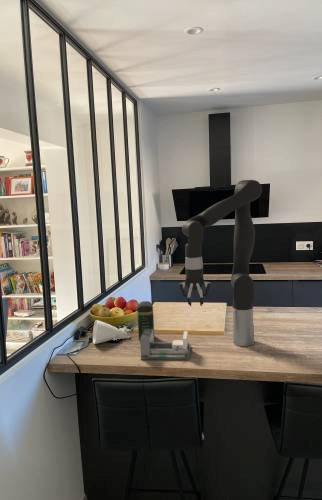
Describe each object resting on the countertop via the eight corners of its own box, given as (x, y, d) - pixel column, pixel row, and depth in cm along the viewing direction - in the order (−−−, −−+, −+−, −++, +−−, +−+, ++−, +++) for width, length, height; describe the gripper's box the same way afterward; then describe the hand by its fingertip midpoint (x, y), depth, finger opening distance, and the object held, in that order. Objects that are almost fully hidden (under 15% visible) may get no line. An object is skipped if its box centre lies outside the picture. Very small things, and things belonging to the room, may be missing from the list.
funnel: (132, 317, 190) (97, 315, 185) (133, 338, 182) (97, 336, 177) (126, 329, 198) (92, 327, 192) (128, 349, 190) (92, 348, 185)
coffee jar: (154, 342, 182) (152, 305, 179) (138, 342, 182) (135, 306, 179) (154, 334, 192) (152, 299, 189) (139, 335, 192) (137, 300, 189)
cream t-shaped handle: (188, 346, 171) (187, 331, 170) (186, 356, 161) (186, 340, 160) (174, 346, 172) (173, 331, 171) (171, 356, 162) (170, 340, 160)
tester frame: (190, 346, 174) (189, 328, 172) (188, 360, 160) (188, 339, 159) (146, 346, 177) (145, 328, 175) (140, 359, 163) (139, 339, 162)
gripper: (210, 264, 163) (212, 302, 166) (178, 265, 165) (180, 303, 168) (210, 268, 156) (212, 307, 159) (176, 269, 158) (178, 308, 161)
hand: (195, 305), depth 163 cm, fingers open, 4 cm apart
